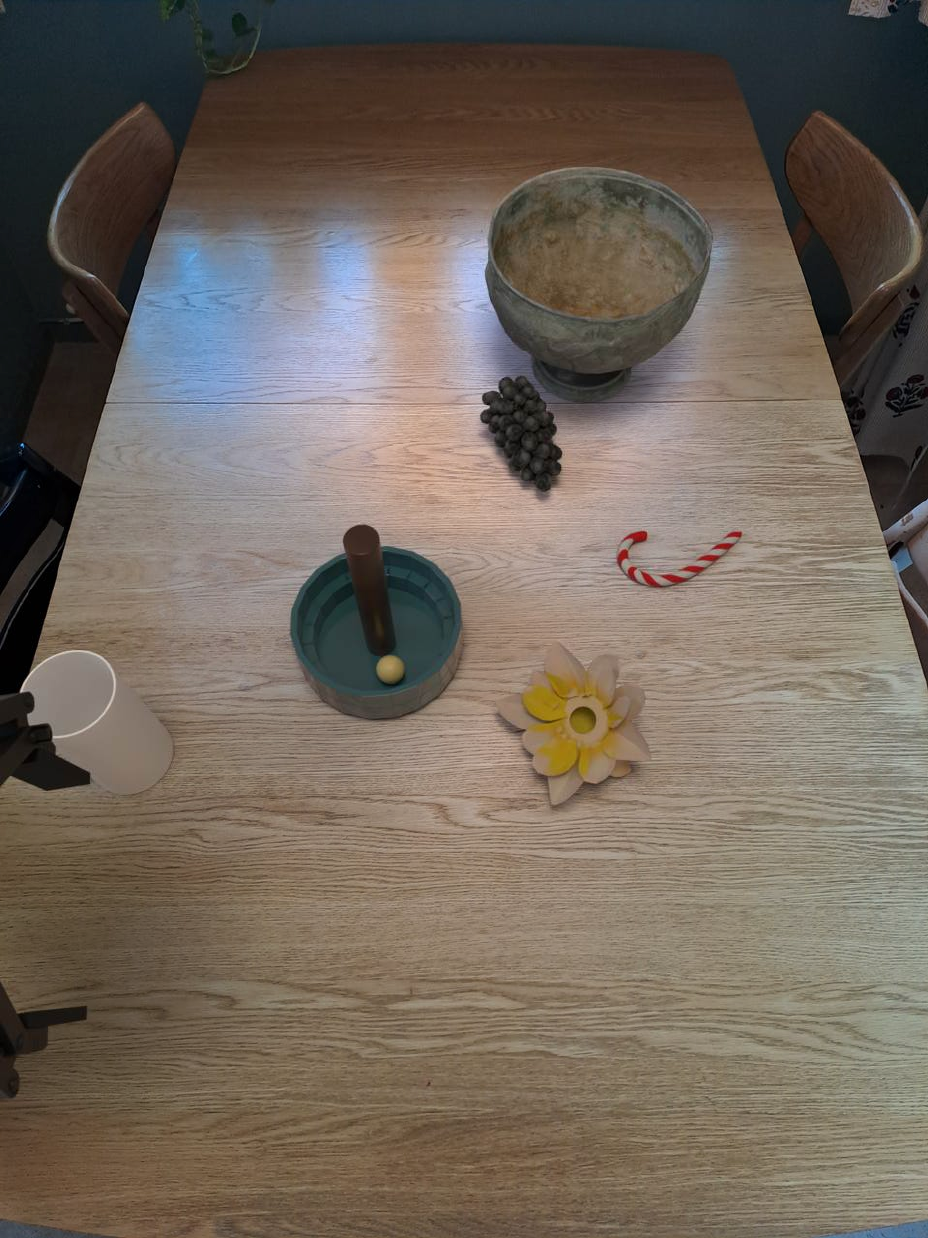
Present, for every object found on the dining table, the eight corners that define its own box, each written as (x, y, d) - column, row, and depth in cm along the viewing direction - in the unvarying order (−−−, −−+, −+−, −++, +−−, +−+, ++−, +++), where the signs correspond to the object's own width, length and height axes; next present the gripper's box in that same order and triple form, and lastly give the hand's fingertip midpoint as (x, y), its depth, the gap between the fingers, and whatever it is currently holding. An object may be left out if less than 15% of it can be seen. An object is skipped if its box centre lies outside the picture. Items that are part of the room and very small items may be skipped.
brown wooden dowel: (378, 661, 89) (356, 561, 72) (360, 641, 91) (335, 537, 73) (402, 644, 90) (386, 541, 73) (384, 624, 91) (365, 517, 74)
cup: (187, 765, 85) (132, 704, 71) (111, 811, 82) (38, 757, 68) (153, 703, 88) (94, 633, 74) (79, 745, 86) (3, 681, 72)
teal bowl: (363, 753, 85) (356, 730, 80) (270, 636, 92) (257, 607, 86) (494, 656, 91) (496, 628, 85) (397, 551, 97) (392, 518, 91)
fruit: (570, 451, 92) (528, 353, 99) (501, 481, 94) (464, 382, 100) (584, 489, 100) (544, 396, 107) (520, 517, 101) (485, 423, 108)
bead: (375, 682, 89) (383, 690, 86) (370, 655, 88) (378, 662, 85) (402, 676, 89) (410, 683, 87) (397, 649, 89) (406, 655, 86)
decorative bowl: (653, 466, 102) (689, 333, 85) (454, 417, 107) (451, 282, 89) (694, 326, 115) (732, 186, 98) (515, 288, 119) (522, 148, 102)
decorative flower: (477, 681, 87) (505, 636, 79) (570, 656, 91) (605, 612, 83) (533, 817, 81) (569, 785, 73) (629, 784, 86) (674, 751, 77)
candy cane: (757, 551, 95) (639, 593, 93) (753, 557, 96) (637, 599, 94) (722, 499, 99) (608, 539, 96) (719, 506, 100) (606, 545, 97)
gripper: (-240, 560, 35) (12, 705, 55) (-373, 1275, 26) (-10, 1143, 45) (-59, 535, 36) (128, 688, 55) (-123, 1230, 26) (129, 1118, 46)
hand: (66, 893), depth 50 cm, fingers open, 13 cm apart
